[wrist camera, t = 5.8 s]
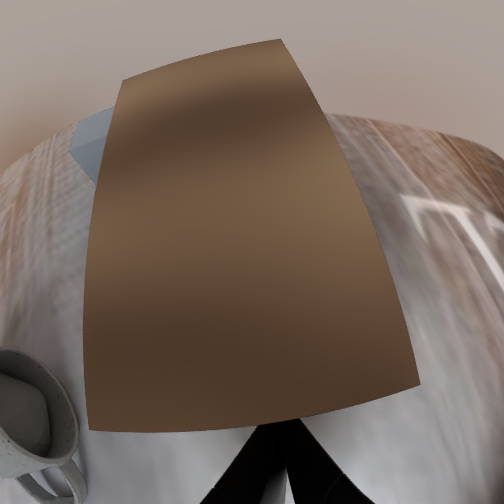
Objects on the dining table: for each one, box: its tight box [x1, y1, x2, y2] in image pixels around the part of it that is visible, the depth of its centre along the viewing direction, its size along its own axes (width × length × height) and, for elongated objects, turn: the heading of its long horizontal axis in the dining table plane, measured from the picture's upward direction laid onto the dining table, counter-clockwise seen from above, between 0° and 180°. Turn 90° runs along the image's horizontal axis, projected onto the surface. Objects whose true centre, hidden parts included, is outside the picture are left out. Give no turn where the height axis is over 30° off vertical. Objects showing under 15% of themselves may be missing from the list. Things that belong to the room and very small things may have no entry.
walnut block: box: [83, 39, 421, 433], centre depth 13 cm, size 13×7×11 cm, turn 9°
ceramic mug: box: [0, 346, 87, 504], centre depth 12 cm, size 11×8×8 cm
